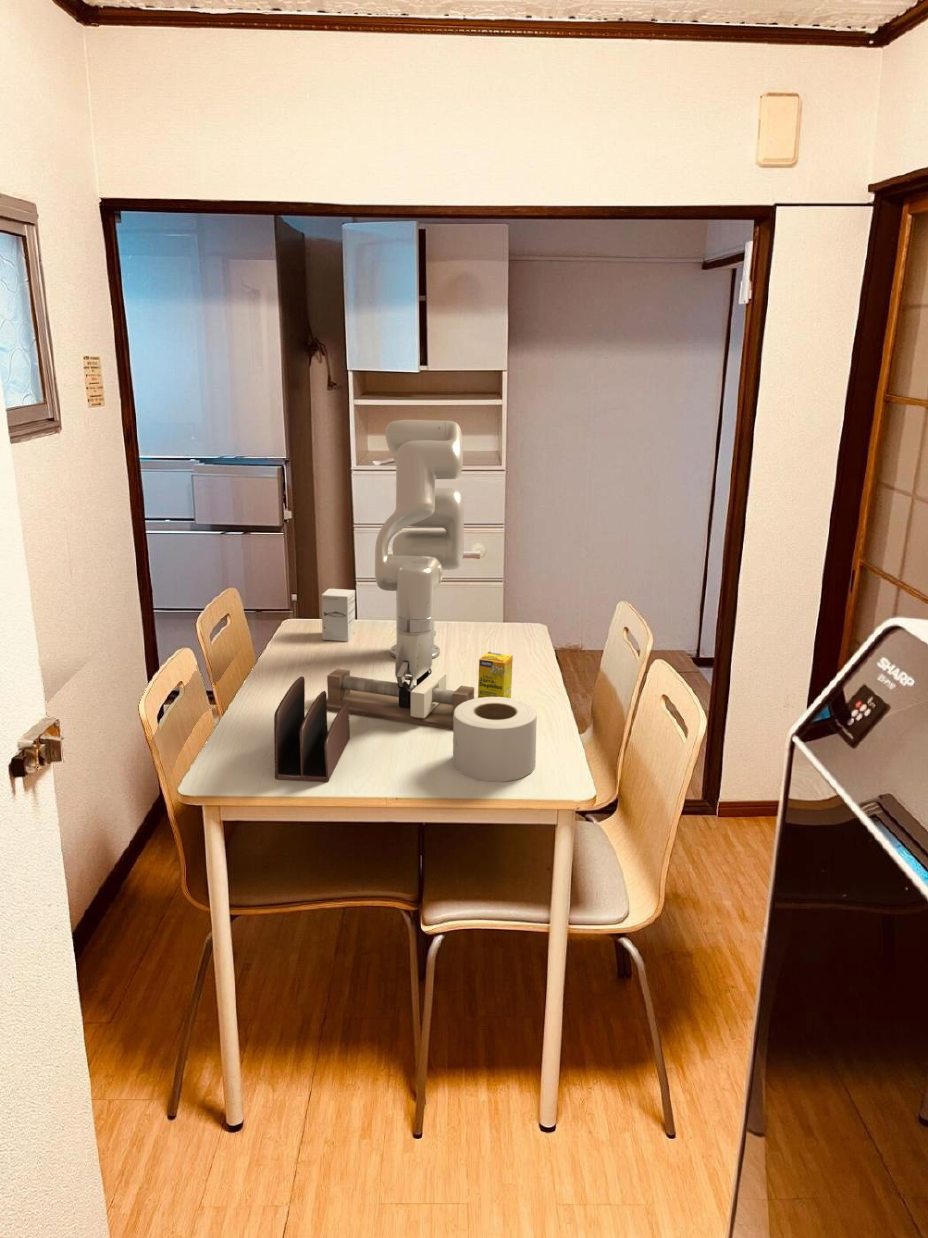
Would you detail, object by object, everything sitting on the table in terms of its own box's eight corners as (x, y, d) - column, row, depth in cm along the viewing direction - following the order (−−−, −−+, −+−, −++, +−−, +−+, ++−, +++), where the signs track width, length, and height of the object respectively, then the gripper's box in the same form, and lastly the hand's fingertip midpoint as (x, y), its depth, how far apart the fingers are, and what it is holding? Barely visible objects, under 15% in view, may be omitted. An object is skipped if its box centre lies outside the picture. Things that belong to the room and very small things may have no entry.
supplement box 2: (477, 706, 201) (478, 659, 198) (486, 697, 207) (487, 650, 204) (503, 710, 199) (504, 662, 196) (511, 700, 205) (513, 654, 202)
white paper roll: (446, 778, 168) (447, 723, 165) (461, 743, 182) (461, 693, 179) (531, 786, 165) (533, 730, 162) (539, 750, 180) (541, 699, 177)
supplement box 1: (321, 640, 244) (320, 594, 240) (330, 632, 251) (328, 587, 247) (348, 642, 243) (347, 596, 239) (356, 634, 250) (355, 589, 246)
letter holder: (274, 780, 166) (271, 708, 162) (301, 736, 185) (299, 670, 181) (328, 783, 165) (326, 710, 161) (350, 738, 184) (349, 672, 180)
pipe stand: (345, 690, 209) (344, 663, 207) (478, 710, 199) (479, 681, 197) (320, 709, 198) (319, 680, 196) (460, 731, 188) (461, 701, 186)
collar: (433, 694, 202) (433, 671, 201) (445, 696, 201) (446, 673, 200) (410, 716, 191) (410, 691, 189) (424, 718, 190) (424, 693, 188)
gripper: (414, 610, 201) (414, 684, 206) (381, 632, 185) (382, 711, 190) (446, 614, 198) (445, 688, 203) (416, 637, 183) (416, 717, 188)
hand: (415, 699), depth 197 cm, fingers open, 9 cm apart
